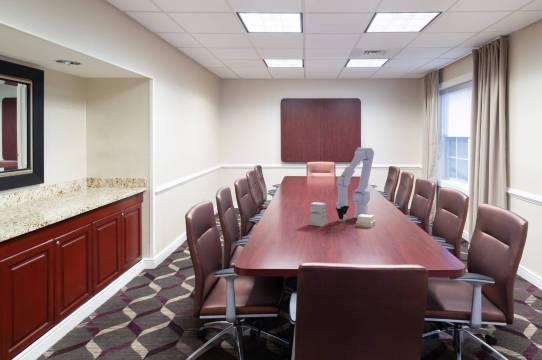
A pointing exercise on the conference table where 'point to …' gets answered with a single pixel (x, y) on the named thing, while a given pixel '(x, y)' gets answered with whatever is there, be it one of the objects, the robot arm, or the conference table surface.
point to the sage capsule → (343, 218)
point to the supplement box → (317, 214)
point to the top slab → (365, 218)
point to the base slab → (366, 224)
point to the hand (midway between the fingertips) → (342, 218)
